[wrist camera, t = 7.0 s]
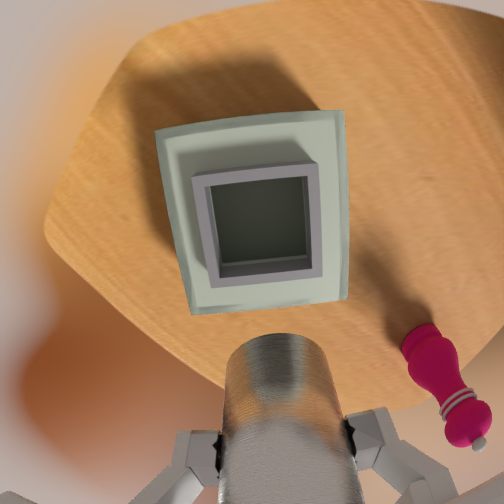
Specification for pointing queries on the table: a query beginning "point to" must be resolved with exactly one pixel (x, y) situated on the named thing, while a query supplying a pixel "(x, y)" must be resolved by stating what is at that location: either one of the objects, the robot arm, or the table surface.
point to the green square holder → (259, 209)
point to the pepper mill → (447, 386)
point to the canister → (284, 427)
